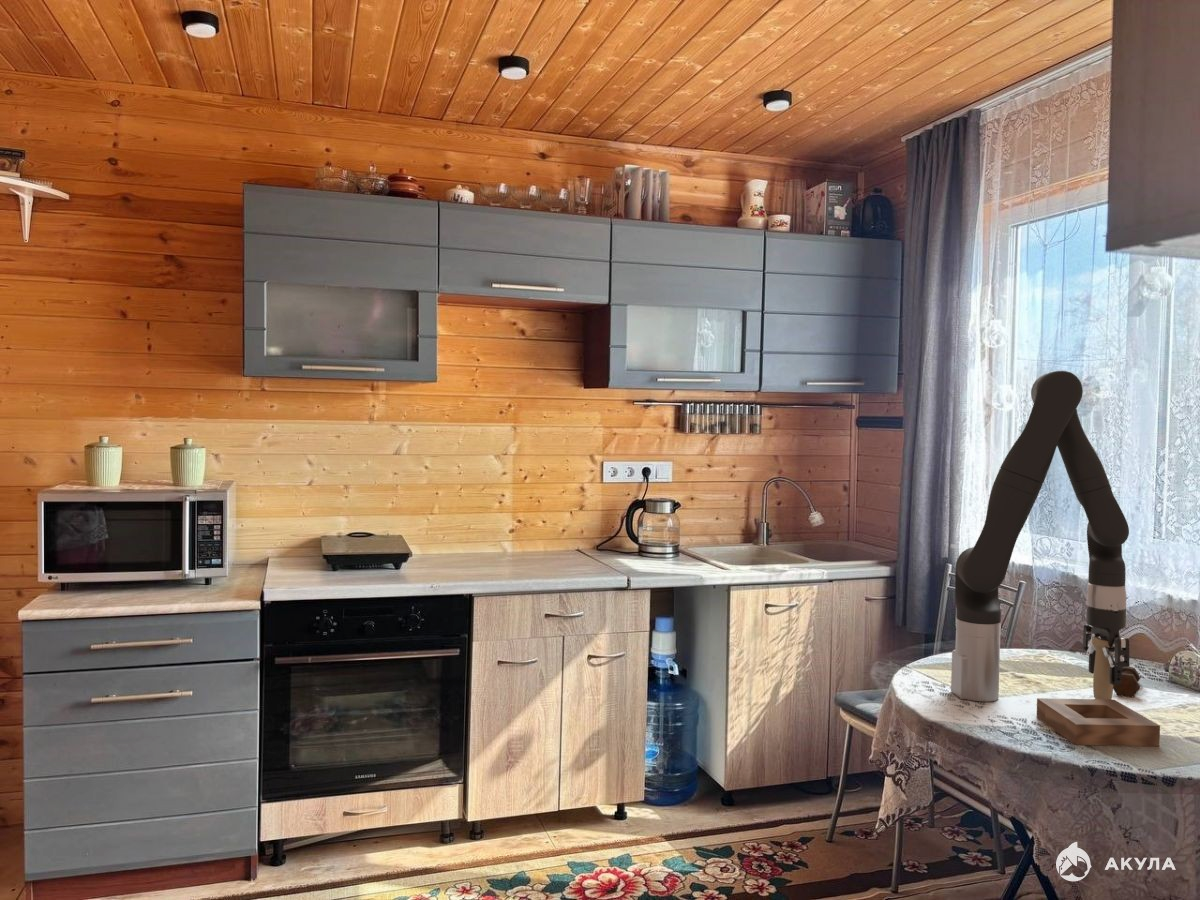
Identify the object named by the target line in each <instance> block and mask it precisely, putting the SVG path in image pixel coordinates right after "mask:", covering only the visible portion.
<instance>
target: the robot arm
mask: <svg viewBox="0 0 1200 900" xmlns="http://www.w3.org/2000/svg"><path fill="white" fill-rule="evenodd" d="M1030 390H1031V391H1030V396H1031V397H1030V398H1031V400H1032V402H1033V405H1032V407H1031V411H1030V413H1029V417H1028V419H1027V421H1026V424H1025V426H1024V428H1023V430H1022V432H1021V433H1020V435H1019V436H1018V438H1017V439H1016V441H1015V442H1014V444H1013V445H1012V447H1011V448H1010V449H1009V451H1008V452H1007V455H1006V456H1005V458H1004V459H1003V461H1002V463H1001V465H1000V468H999V470H998V473H997V474H996V477H995V480H994V482H993V484H992V487H991V491H990V495H989V499H988V503H987V510H986V516H985V521H984V524H983V528H982V530H981V531H980V532H981V533H980V534H979V536H978V537H977V538H978V539H977V541H976V542H975V545H974V546H971V547H969V548H967V549H965V550H962V552H961V553H960V554H959V556H958V557H957V559H956V563H955V572H954V574H955V575H954V603H955V610H956V620H955V621H956V622H955V623H956V625H955V649H953V650H952V651H951V674H950V675H951V677H950V678H951V679H950V691H951V693H953V694H954V695H955V696H957V697H958V698H959V699H960V700H969V701H975V702H986V703H987V702H995V701H997V700H999V697H1000V696H999V695H1000V694H999V693H1000V664H1001V663H1000V661H1001V660H1000V657H1001V626H1002V622H1001V621H1002V611H1001V607H1000V601H999V600H1000V599H999V587H1000V586H1001V584H1003V582H1004V580H1005V578H1006V575H1007V572H1008V568H1009V565H1010V562H1011V558H1012V554H1013V552H1014V549H1015V545H1016V543H1017V540H1018V538H1019V535H1020V533H1021V532H1022V530H1023V527H1024V526H1025V524H1026V522H1027V519H1028V518H1029V515H1030V513H1031V511H1032V508H1033V507H1034V505H1035V503H1036V501H1037V498H1038V496H1039V494H1040V491H1041V489H1042V487H1043V484H1044V483H1045V480H1046V477H1047V474H1048V472H1049V469H1050V468H1051V467H1050V466H1051V464H1052V462H1053V459H1054V456H1055V453H1056V450H1058V451H1059V454H1060V456H1061V459H1062V462H1063V464H1064V467H1065V470H1066V473H1067V476H1068V478H1069V482H1070V484H1071V486H1072V490H1073V492H1074V495H1075V497H1076V499H1077V501H1078V503H1079V504H1080V505H1081V506H1082V508H1083V510H1084V512H1085V516H1086V518H1087V520H1088V522H1087V526H1086V527H1087V528H1086V540H1087V542H1086V543H1087V551H1088V557H1089V558H1088V559H1089V560H1088V561H1089V563H1088V579H1087V580H1088V582H1087V590H1086V611H1085V612H1086V618H1085V619H1086V620H1085V621H1086V622H1085V623H1086V624H1083V632H1082V633H1083V635H1082V636H1083V637H1082V650H1083V651H1085V652H1086V655H1087V656H1088V672H1089V673H1090V674H1094V666H1095V655H1096V647H1095V646H1094V645H1093V644H1092V636H1093V637H1098V639H1100V640H1106V641H1108V644H1109V646H1110V648H1108V647H1106V646H1105V647H1104V648H1102V649H1103V652H1104V655H1105V657H1107V658H1108V660H1109V663H1110V666H1111V667H1110V684H1112V685H1121V684H1122V668H1123V667H1130V640H1129V638H1127V637H1126V638H1125V637H1121V635H1120V634H1121V633H1120V631H1121V630H1123V629H1125V628H1126V626H1127V591H1126V564H1125V560H1124V559H1123V544H1125V543H1126V541H1127V540H1128V538H1129V535H1130V528H1129V523H1128V521H1127V519H1126V516H1125V514H1124V513H1123V511H1122V507H1120V505H1119V503H1118V501H1117V499H1116V497H1115V495H1114V493H1113V490H1112V487H1111V484H1110V481H1109V478H1108V475H1107V473H1106V470H1105V468H1104V465H1103V463H1102V461H1101V459H1100V457H1099V455H1098V454H1097V451H1096V450H1095V449H1094V447H1093V445H1092V444H1091V442H1090V439H1089V438H1088V436H1087V435H1086V432H1085V430H1084V428H1083V426H1082V424H1081V421H1080V418H1079V414H1078V409H1077V408H1078V406H1079V405H1080V403H1081V400H1082V398H1083V392H1084V391H1083V386H1082V382H1081V380H1080V379H1079V377H1078V376H1077V375H1075V374H1074V373H1072V372H1070V371H1067V370H1056V371H1052V372H1048V373H1045V374H1043V375H1040V376H1039V377H1038V378H1037V379H1036V380H1035V381H1034V383H1033V384H1032V387H1031V389H1030ZM1114 642H1115V644H1114V646H1115V647H1113V648H1111V647H1112V645H1113V643H1114Z"/></svg>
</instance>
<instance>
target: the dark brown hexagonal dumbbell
mask: <svg viewBox="0 0 1200 900" xmlns="http://www.w3.org/2000/svg"><path fill="white" fill-rule="evenodd" d="M1139 674H1140V673H1138V671H1137V669H1136V668H1135V667H1131V666H1129V667H1123V668H1122V684H1121V685H1113V692H1114V693H1115V694H1116V696H1119V697H1125V698H1134V697H1135V695H1136V694H1137V693H1138V691H1139V690H1140V689H1141V685H1140V683H1139V682H1140V680H1141V676H1140V675H1139Z"/></svg>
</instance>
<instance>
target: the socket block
mask: <svg viewBox="0 0 1200 900" xmlns="http://www.w3.org/2000/svg"><path fill="white" fill-rule="evenodd" d="M1036 718H1037V719H1038V720H1040V721H1041V722H1042V723H1044V724H1045V725H1047V726H1049V728H1050V729H1052V730H1054V731H1055V732H1056V733H1058V734H1059V735H1061V736H1062V737H1064V738H1065V739H1067V740H1068V741H1070V743H1072V744H1074V745H1075V746H1118V747H1121V746H1123V747H1131V746H1132V747H1160V742H1161V741H1160V740H1161V738H1160V737H1161V725H1159V724H1158V723H1156V721H1155V722H1154V721H1153V720H1152V719H1149V718H1147V717H1146V716H1144V715H1142V714H1140V713H1138V712H1137V711H1135V710H1133V709H1132V708H1130V707H1129V706H1127V705H1125V704H1124V703H1121V702H1119V701H1117V700H1116V699H1113V698H1112V699H1095V698H1050V697H1049V698H1048V697H1046V698H1043V697H1041V698H1039V697H1038V698H1036Z"/></svg>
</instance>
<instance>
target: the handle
mask: <svg viewBox="0 0 1200 900" xmlns="http://www.w3.org/2000/svg"><path fill="white" fill-rule="evenodd" d="M1092 644H1093V645H1094V646H1095V647H1096V655H1095V666H1094V673H1093V675H1092V676H1093V677H1092V690H1093V691H1092V692H1093V699H1113V693H1114V689H1113V685H1112V684H1110V667H1111V666H1110V663H1109V660H1108V658H1107V657H1105V655H1104V652H1103V649H1102V648H1104V647H1105V646H1106V647H1108V648H1110V646H1109V644H1108V641H1106V640H1100V639H1098V637H1093V636H1092ZM1114 644H1115V642H1114V643H1113V645H1112V647H1111V648H1113V647H1115V646H1114Z"/></svg>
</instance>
